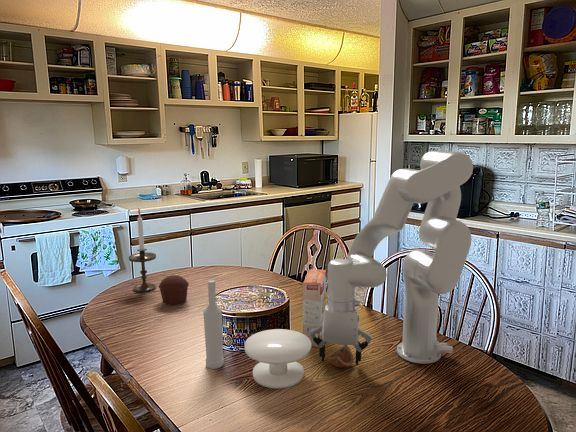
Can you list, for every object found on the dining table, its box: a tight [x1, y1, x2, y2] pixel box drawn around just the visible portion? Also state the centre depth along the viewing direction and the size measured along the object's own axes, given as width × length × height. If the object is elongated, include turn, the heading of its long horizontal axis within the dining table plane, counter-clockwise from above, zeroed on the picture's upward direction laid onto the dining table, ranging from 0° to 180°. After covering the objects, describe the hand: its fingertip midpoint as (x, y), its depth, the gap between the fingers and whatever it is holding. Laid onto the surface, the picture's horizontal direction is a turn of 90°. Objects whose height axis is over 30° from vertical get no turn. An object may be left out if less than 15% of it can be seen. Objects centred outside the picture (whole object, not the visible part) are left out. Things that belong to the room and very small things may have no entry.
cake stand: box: [244, 328, 312, 390], centre depth 122 cm, size 18×18×9 cm
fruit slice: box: [327, 344, 354, 369], centre depth 126 cm, size 8×7×5 cm
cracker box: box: [302, 268, 328, 348], centre depth 142 cm, size 14×6×21 cm, turn 168°
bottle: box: [202, 279, 225, 370], centre depth 126 cm, size 5×5×25 cm
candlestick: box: [128, 207, 157, 294], centre depth 186 cm, size 11×11×35 cm
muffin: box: [158, 275, 190, 306], centre depth 175 cm, size 12×11×10 cm
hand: (340, 360), depth 127 cm, fingers open, 9 cm apart
